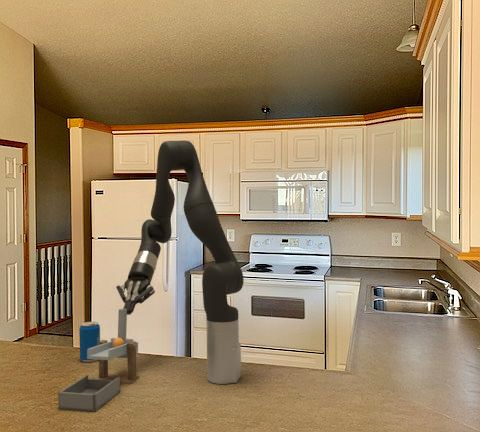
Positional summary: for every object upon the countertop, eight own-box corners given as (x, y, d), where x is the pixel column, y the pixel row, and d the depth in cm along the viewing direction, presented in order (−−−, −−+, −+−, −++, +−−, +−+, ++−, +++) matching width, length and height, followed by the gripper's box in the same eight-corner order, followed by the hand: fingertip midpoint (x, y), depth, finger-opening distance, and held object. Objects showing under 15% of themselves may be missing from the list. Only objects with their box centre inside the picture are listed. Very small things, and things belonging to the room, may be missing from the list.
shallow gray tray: (120, 391, 128) (119, 377, 128) (95, 411, 116) (94, 395, 116) (86, 389, 131) (86, 374, 130) (58, 408, 118) (58, 392, 118)
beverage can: (94, 363, 154) (93, 326, 153) (76, 362, 155) (75, 325, 155) (104, 357, 160) (103, 321, 160) (86, 356, 161) (85, 321, 161)
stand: (140, 378, 139) (139, 340, 139) (132, 384, 134) (131, 345, 134) (103, 375, 142) (103, 338, 141) (95, 381, 137) (94, 343, 137)
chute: (139, 355, 144) (140, 308, 145) (110, 368, 126) (111, 314, 128) (118, 354, 146) (119, 307, 147) (86, 367, 128) (88, 313, 129)
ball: (125, 348, 140) (126, 337, 140) (120, 350, 136) (121, 338, 137) (115, 347, 140) (116, 336, 141) (110, 349, 137) (110, 338, 137)
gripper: (120, 260, 155) (102, 305, 143) (158, 260, 152) (143, 306, 140) (128, 275, 160) (111, 319, 148) (165, 275, 157) (151, 320, 145)
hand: (127, 313), depth 144 cm, fingers closed
